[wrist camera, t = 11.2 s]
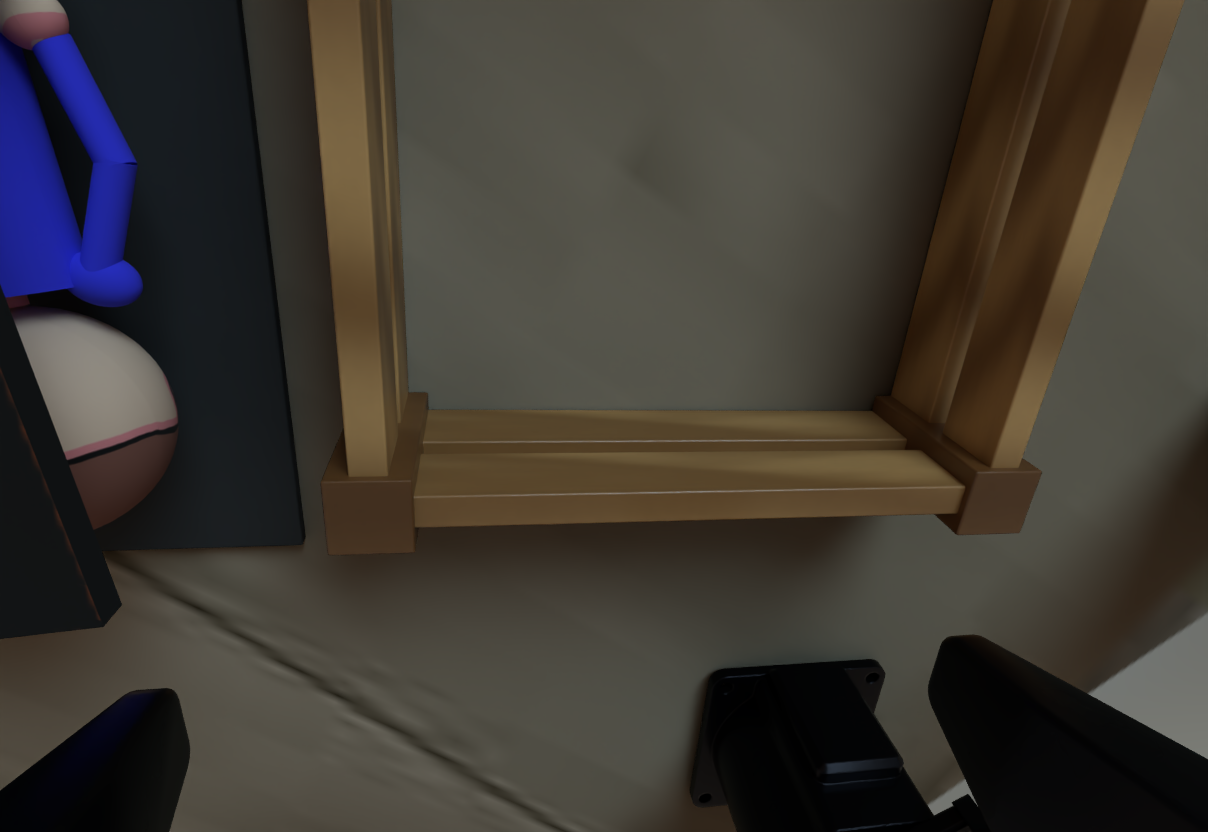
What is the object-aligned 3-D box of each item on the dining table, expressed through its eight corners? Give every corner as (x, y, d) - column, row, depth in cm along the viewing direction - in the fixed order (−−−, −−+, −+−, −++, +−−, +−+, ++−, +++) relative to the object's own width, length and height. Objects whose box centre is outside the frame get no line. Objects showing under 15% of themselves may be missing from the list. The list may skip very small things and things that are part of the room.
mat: (305, 537, 20) (302, 545, 19) (-104, 548, 18) (-115, 557, 18) (187, -464, 12) (177, -481, 11) (-574, -617, 10) (-615, -645, 10)
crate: (914, 448, 22) (1020, 534, 18) (361, 452, 19) (327, 556, 15) (1181, -497, 14) (1506, -772, 9) (271, -744, 11) (129, -1314, 6)
